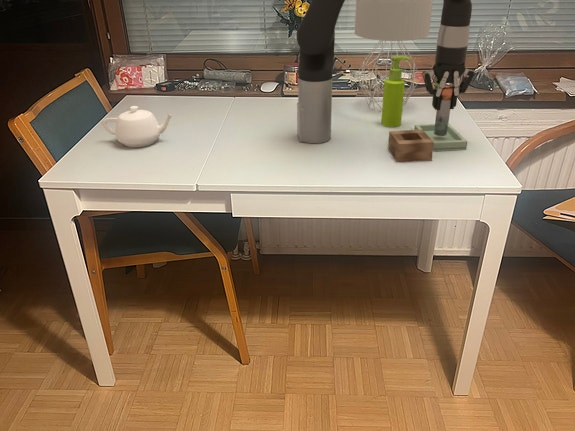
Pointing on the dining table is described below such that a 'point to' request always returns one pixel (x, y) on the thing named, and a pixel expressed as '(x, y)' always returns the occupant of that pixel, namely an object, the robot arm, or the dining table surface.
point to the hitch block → (410, 145)
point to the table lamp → (391, 29)
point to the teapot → (136, 127)
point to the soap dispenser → (393, 95)
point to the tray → (444, 138)
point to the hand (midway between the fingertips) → (443, 108)
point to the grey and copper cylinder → (443, 111)
